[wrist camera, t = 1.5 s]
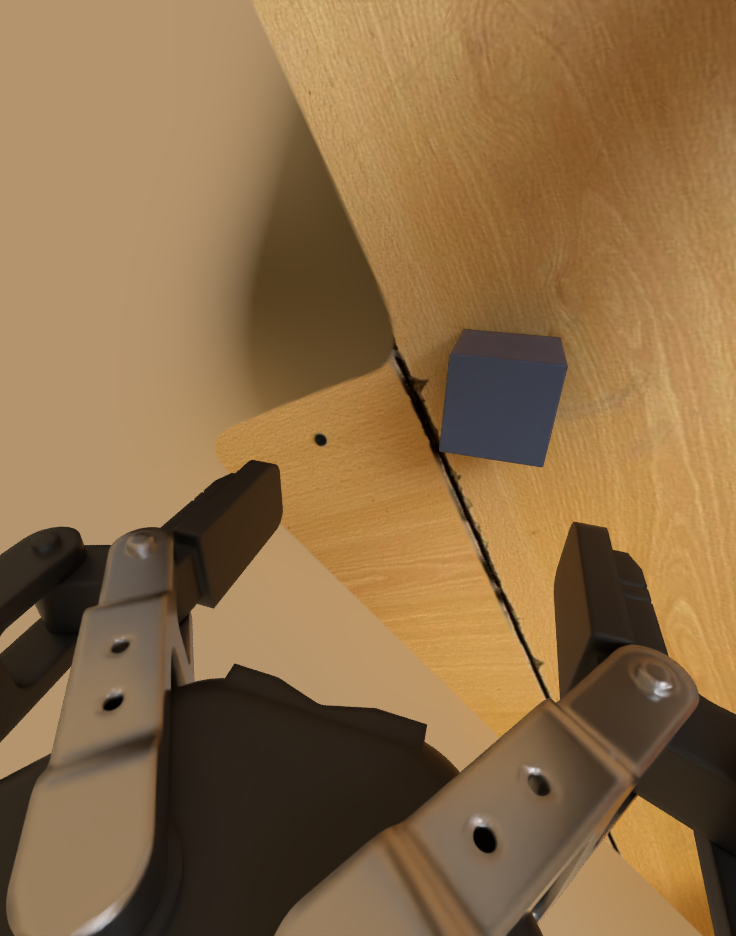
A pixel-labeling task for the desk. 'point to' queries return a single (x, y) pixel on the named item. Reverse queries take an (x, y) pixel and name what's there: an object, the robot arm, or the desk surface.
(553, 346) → the cube
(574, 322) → the desk surface
